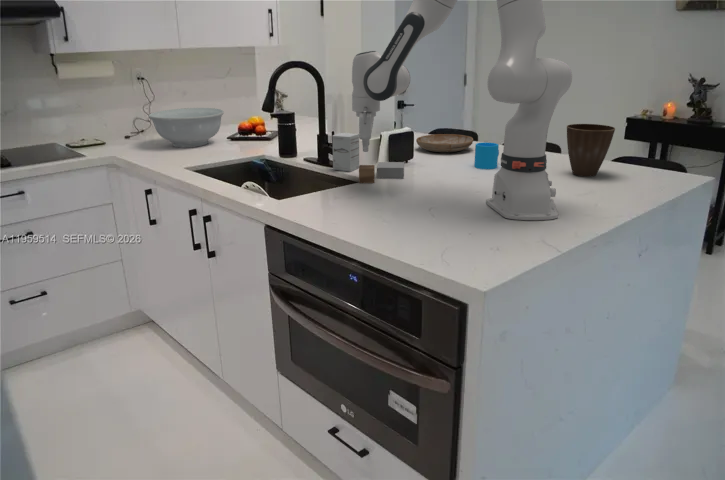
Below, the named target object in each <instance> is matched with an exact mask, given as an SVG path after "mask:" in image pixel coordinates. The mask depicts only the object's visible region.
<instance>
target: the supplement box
mask: <svg viewBox="0 0 725 480" xmlns="http://www.w3.org/2000/svg"><path fill="white" fill-rule="evenodd" d="M359 165H360V138H359V133H351V132H350V133H349V132H338V133H336V134H333V135H332V170H333V171H342V172H343V171H344V172H347V173H350V172H354V171H355V170H359Z"/></svg>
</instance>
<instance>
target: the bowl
mask: <svg viewBox="0 0 725 480" xmlns="http://www.w3.org/2000/svg"><path fill="white" fill-rule="evenodd" d="M224 113H225V112H224V110H223V109H221V108H215V107H214V108H213V107H212V108H211V107H190V108H189V107H187V108H175V109H167V110H161V111H155V112H152V113H150V114H148V118H149V119H150V120H151V121H152V123H153V125H154V129H155V131H156V133H157V134H158V135H159V136H160V137H161V138H162V139H164V140H166V141H169V142H171V143H172V146H173V147H176V148H184V149H185V148H195V147H196V148H197V147H202V146H205V145H207V144H208V143H209V141H208V140H209V139H212V138H213V137H215V136H216V135H217V134H218V133H219V130H220V127H221V124H222V123H221V121H222V117H223V115H224Z"/></svg>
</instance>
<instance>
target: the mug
mask: <svg viewBox="0 0 725 480" xmlns="http://www.w3.org/2000/svg"><path fill="white" fill-rule="evenodd" d="M499 148H500V147H499V144H498V143H495V142H485V141H484V142H477V143H475V147H474V151H475V152H474V161H473V162H474V163H473V164H474V168H476V169H479V170H493V169H497V168H498V160H499V155H500V150H499Z"/></svg>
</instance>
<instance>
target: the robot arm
mask: <svg viewBox="0 0 725 480" xmlns="http://www.w3.org/2000/svg"><path fill="white" fill-rule="evenodd" d="M457 2H458V0H412V3H411V4H410V6H409V8H408V10H407V12H406V14H405V15H404V18H403V20H402V21H401V23H400V25H399V26H398V28H397V30H396V31H395V33H394V34H393V36H392V37H391V40H390V42H389V43H388V45H386V46H387V47H386V48H385V50H384V51H383V52H382V54H380V53H379V52H378V51H376V50H368V51H363V52H359V53H357V54H356V55H354V57H353V60H352V65H351V66H352V68H351V83H352V87H353V88H352V94H351V106H352V107H351V110H352V112H355V113H356V114H355V115H356V117H359V119H358V132H359V133H358V134H359V140H361V143H362V144H361V145H362V152H363V153H367V152H369V146H370V140H371V138H372V134H373V127H374V121H375V117H376V116H377V113H378V112H380V110H381V102H383V101H386V100H388V99H389V98H392V97H395V96H397V95H400V94H403V93H404V92H406V91H407V90H408V88H409V87H410V83H411V74H410V71H409V70H408V68H407V67H406V66H405V65H404V64H405V61H406V60H407V58H408V56H409V55H410V53H411V52H412V50H413V49H414V47H415V46H416V44H418V42H420V41H421V40H422V39H424V38H425V37H427V36H428V35H430V34H432V33H434V32H435V31H437V30H438V29H440V28H441V27H442V26H443V24H444V23H445V22H446V20H447V19H448V17H449V16H450V15H451V12H452V11H453V9H454V7H455V6H456V3H457ZM496 5H497V11H498V12H497V15H498V19H499V29H500V30H499V31H500V38H501V39H500V51H499V54H498V59H497V62H496V63H495V65H494V66H493V67H492V68H491V70H490V71H489V73H488V76H487V83H486V84H487V90H488V92H489V96H491V98H493V100H494V101H497V102H499V103H504V104H510V105H512V104H513V105H514V104H515V105H516V104H518V107H517V110H516V111H515V113H513V115H512V117H511V118H510V119H509V120H507V122H506V125H505V127H504V136H503V137H504V138H503V150H502V151H503V152H502V153H501V155H500V166H501V167H500V169H499V170H498V171H497V172H496V173H495V174H494V176H493V186H492V194H491V197H489V198H486V200H485V204H486V205H487V206H489V207H490V208H492V209H493V210H494V211H495V212H497V213H498V214H499V215H500V216H502V217H503V218H506V219H510V220H518V221H519V220H520V221H521V220H522V221H543V220H544V221H545V220H554V219H558V218H559V213H558V210H557V206H556V203H555V200H554V199H553V198H555V197H556V195H557V190H556V189H557V188H554V187H552V186H553V185H552V184H553V181H552V180H549V173H548V172H547V171H546V170H547V163H548V162H547V154H546V147H547V140H548V131H549V127H550V122H551V119H552V116H553V114H554V112H555V110H556V107H557V105H558V103H559V102H560V100H561V99H562V97H563V96H564V95H565V94H566V93H567V92H568V91H569V90H570V87H571V85H572V81H573V73H572V70H571V67H570V66H569V64H568V63H566V62H565V61H562V60H560V59H557V58H553V57H541V58H540V57H539V58H537V46H538V43H539V41H540V39H541V38H542V37H543V36H544V35H545V32H546V19H545V13H544V6H543V5H544V4H543V0H496Z"/></svg>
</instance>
